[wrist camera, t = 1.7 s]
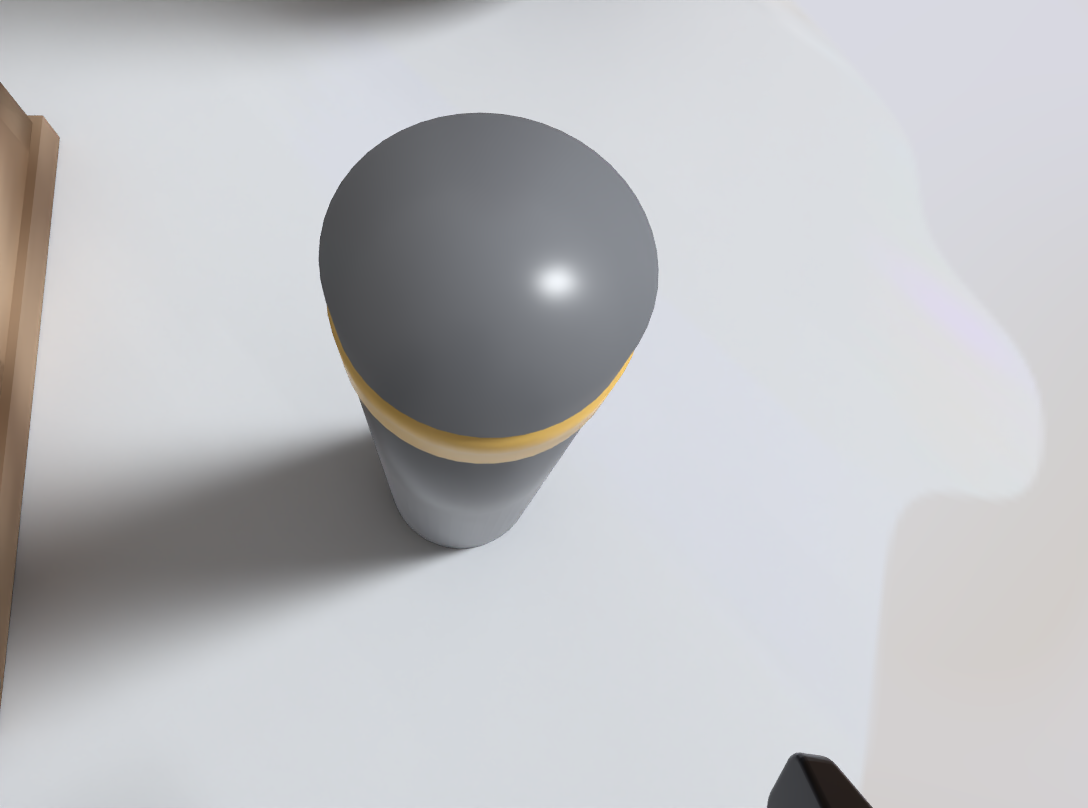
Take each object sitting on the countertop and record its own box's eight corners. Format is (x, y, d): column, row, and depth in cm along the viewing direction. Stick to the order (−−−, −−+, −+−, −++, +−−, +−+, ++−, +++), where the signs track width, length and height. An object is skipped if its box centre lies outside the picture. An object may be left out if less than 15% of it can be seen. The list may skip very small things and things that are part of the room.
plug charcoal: (539, 543, 21) (687, 410, 8) (392, 556, 20) (316, 433, 8) (525, 405, 22) (637, 109, 10) (386, 413, 21) (312, 108, 9)
